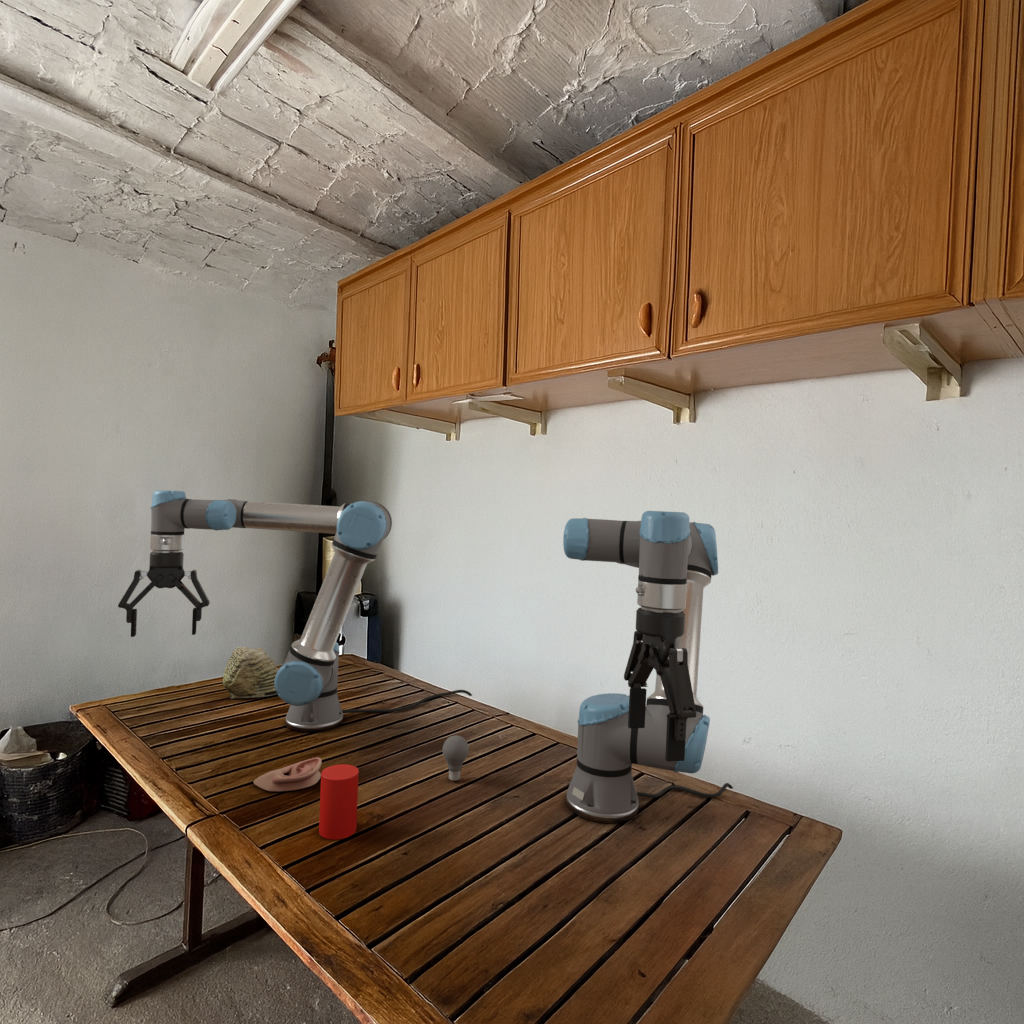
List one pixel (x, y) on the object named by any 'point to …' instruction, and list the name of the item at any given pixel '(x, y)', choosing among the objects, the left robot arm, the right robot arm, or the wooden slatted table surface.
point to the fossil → (250, 674)
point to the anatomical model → (291, 776)
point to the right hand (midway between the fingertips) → (654, 743)
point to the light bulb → (455, 755)
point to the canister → (338, 801)
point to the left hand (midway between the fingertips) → (164, 634)
